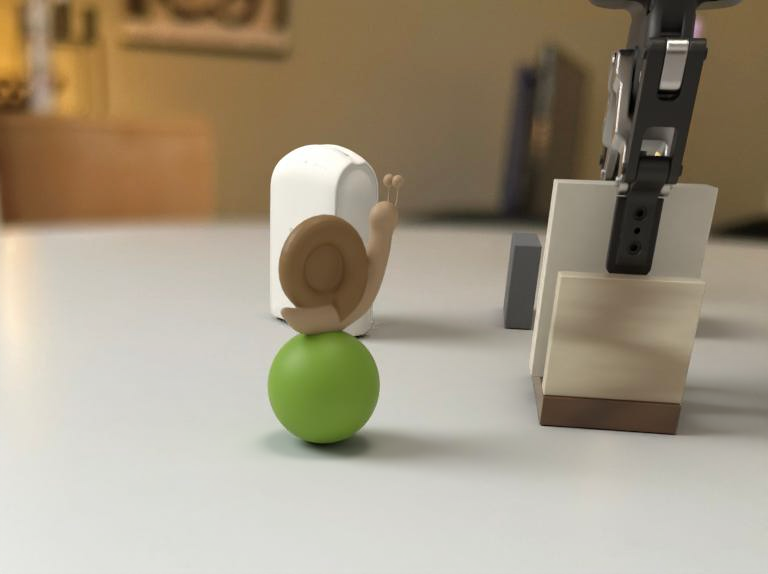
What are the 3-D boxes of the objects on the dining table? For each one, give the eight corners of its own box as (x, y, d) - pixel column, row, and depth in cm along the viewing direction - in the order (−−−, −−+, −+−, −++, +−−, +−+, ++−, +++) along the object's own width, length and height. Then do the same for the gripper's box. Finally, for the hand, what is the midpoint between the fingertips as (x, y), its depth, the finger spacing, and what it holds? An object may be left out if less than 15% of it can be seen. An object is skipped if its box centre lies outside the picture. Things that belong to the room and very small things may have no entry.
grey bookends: (649, 316, 83) (664, 238, 80) (666, 337, 75) (683, 252, 72) (503, 308, 84) (512, 232, 82) (504, 327, 77) (514, 244, 74)
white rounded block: (261, 316, 79) (263, 141, 73) (308, 312, 80) (313, 141, 75) (329, 341, 71) (337, 147, 65) (379, 336, 73) (391, 147, 67)
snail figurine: (414, 445, 49) (437, 178, 44) (305, 464, 46) (315, 179, 40) (350, 418, 53) (364, 170, 48) (246, 434, 50) (248, 171, 44)
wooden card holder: (645, 380, 62) (669, 253, 59) (676, 434, 52) (708, 283, 48) (531, 373, 63) (548, 248, 60) (539, 424, 53) (560, 276, 49)
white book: (528, 364, 59) (554, 178, 54) (669, 373, 58) (707, 184, 53) (530, 376, 56) (557, 182, 51) (677, 385, 55) (719, 188, 50)
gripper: (813, -152, 39) (717, 291, 47) (735, -88, 52) (670, 254, 60) (618, -149, 41) (556, 283, 48) (588, -88, 53) (542, 248, 61)
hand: (619, 266), depth 54 cm, fingers open, 6 cm apart
